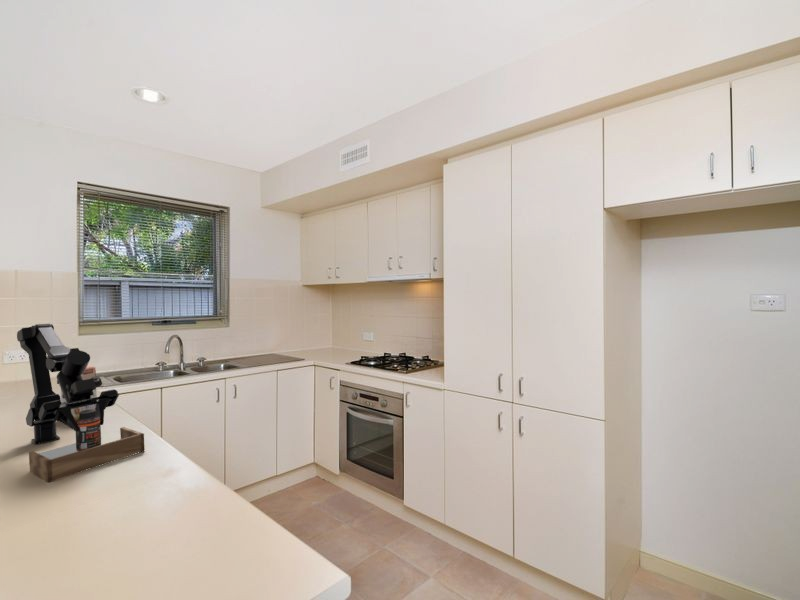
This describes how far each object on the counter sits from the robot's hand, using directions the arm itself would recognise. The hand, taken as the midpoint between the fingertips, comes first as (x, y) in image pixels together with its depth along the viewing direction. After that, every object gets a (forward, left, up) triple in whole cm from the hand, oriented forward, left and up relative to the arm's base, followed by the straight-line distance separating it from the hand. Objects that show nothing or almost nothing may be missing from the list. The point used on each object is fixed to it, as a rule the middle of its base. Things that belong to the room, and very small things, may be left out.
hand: (90, 427), depth 121 cm
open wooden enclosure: (-1, 0, -10) cm, 10 cm away
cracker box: (-55, +10, -10) cm, 57 cm away
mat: (-14, -2, -10) cm, 18 cm away
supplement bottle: (-1, 0, -7) cm, 7 cm away
